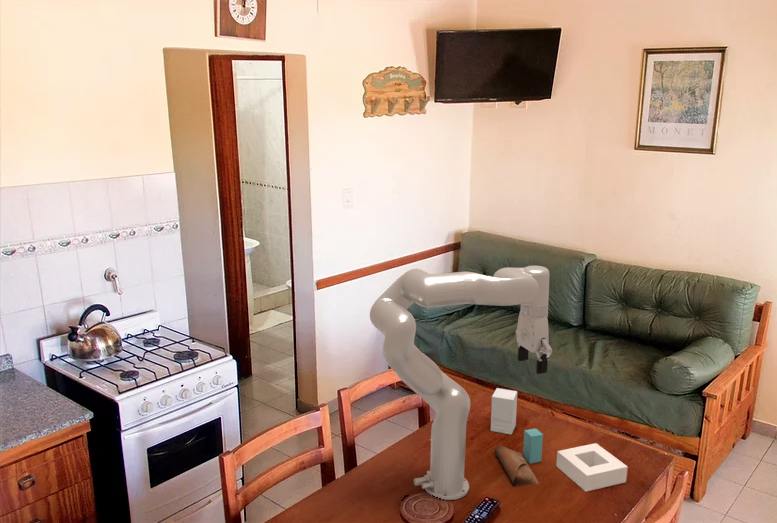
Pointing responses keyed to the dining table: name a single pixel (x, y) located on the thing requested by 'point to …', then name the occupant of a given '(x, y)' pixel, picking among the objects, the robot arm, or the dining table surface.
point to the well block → (595, 477)
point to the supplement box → (503, 411)
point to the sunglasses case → (515, 466)
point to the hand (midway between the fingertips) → (532, 366)
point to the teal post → (532, 445)
